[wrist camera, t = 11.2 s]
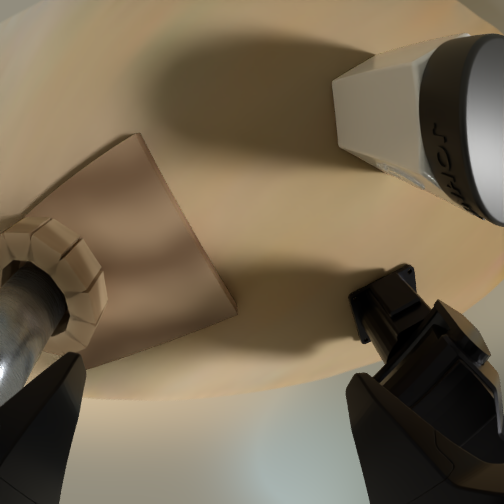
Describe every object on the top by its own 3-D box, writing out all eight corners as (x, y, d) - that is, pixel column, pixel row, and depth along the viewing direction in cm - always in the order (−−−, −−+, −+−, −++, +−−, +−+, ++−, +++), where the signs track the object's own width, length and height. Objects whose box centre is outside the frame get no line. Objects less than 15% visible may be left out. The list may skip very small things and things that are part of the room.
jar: (307, 134, 18) (420, 165, 7) (350, 36, 15) (473, -15, 4) (405, 188, 20) (523, 257, 9) (441, 102, 17) (566, 121, 6)
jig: (236, 305, 23) (240, 341, 19) (83, 363, 25) (71, 393, 21) (139, 132, 17) (118, 137, 13) (-6, 247, 18) (-32, 269, 15)
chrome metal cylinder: (86, 284, 19) (10, 425, 8) (60, 316, 20) (-3, 439, 9) (41, 239, 18) (-66, 355, 6) (19, 277, 19) (-64, 385, 7)
